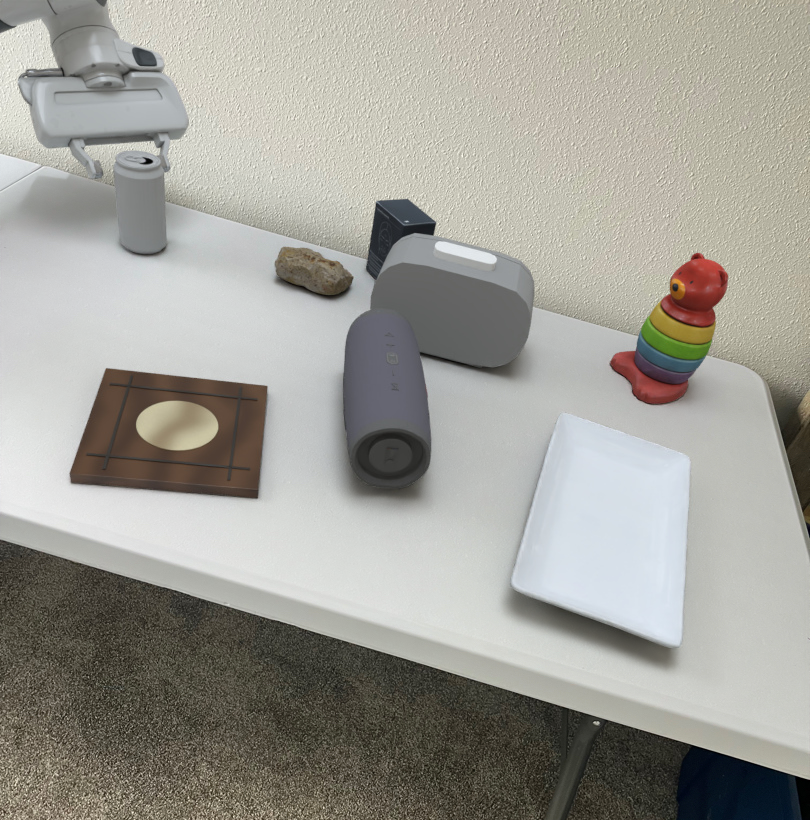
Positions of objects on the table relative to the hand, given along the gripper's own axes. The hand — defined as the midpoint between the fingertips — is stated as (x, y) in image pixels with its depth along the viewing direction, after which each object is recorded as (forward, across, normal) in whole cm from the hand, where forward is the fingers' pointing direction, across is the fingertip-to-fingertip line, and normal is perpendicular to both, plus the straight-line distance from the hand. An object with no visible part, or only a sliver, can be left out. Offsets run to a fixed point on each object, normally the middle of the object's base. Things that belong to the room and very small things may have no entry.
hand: (131, 174), depth 106 cm
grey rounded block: (+34, +26, -21) cm, 48 cm away
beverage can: (+8, 0, +5) cm, 9 cm away
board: (+36, -15, -24) cm, 46 cm away
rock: (+20, +18, -7) cm, 28 cm away
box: (+22, +30, -10) cm, 39 cm away
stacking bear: (+48, +49, -35) cm, 77 cm away
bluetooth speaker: (+43, +6, -30) cm, 52 cm away
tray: (+60, +18, -47) cm, 79 cm away
